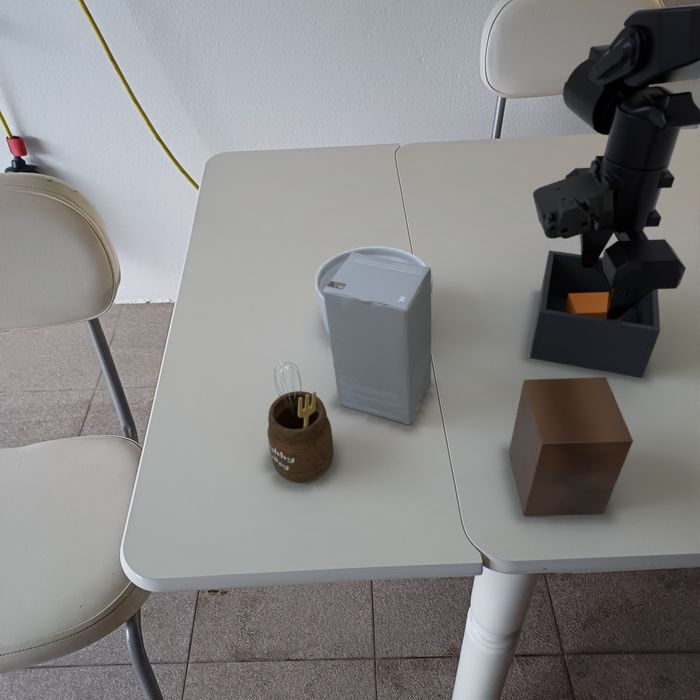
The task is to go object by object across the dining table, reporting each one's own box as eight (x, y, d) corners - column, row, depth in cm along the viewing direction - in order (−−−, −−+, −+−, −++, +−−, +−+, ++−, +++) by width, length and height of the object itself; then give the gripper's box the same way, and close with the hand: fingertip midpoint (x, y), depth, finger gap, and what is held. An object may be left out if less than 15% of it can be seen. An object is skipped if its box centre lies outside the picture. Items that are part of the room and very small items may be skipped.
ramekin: (294, 331, 76) (289, 283, 71) (366, 278, 83) (365, 232, 79) (382, 381, 69) (382, 332, 65) (452, 319, 77) (456, 271, 72)
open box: (640, 310, 77) (656, 264, 72) (642, 377, 68) (660, 330, 64) (539, 295, 79) (549, 250, 75) (529, 358, 71) (539, 311, 67)
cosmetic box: (431, 386, 69) (440, 263, 58) (407, 433, 64) (411, 309, 53) (359, 364, 72) (354, 243, 61) (330, 409, 67) (320, 286, 56)
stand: (581, 450, 62) (606, 376, 55) (603, 514, 57) (633, 440, 50) (508, 453, 62) (523, 379, 55) (523, 516, 57) (542, 443, 50)
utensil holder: (317, 427, 65) (307, 338, 57) (346, 471, 61) (340, 382, 53) (263, 450, 63) (245, 361, 55) (289, 497, 59) (273, 409, 51)
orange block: (605, 319, 75) (613, 291, 72) (614, 339, 72) (623, 311, 70) (561, 320, 75) (568, 293, 72) (569, 340, 72) (576, 313, 70)
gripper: (527, 118, 66) (507, 246, 77) (576, 212, 53) (543, 352, 63) (636, 113, 66) (601, 242, 77) (713, 207, 52) (658, 348, 63)
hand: (598, 291), depth 70 cm, fingers open, 9 cm apart
